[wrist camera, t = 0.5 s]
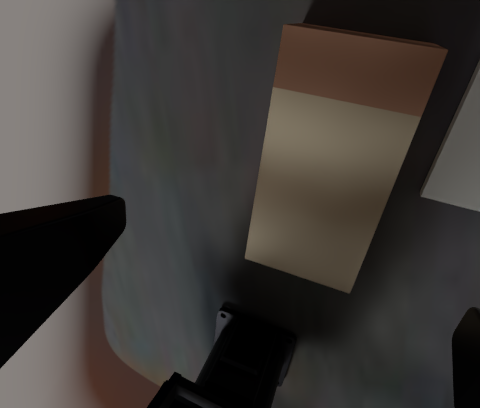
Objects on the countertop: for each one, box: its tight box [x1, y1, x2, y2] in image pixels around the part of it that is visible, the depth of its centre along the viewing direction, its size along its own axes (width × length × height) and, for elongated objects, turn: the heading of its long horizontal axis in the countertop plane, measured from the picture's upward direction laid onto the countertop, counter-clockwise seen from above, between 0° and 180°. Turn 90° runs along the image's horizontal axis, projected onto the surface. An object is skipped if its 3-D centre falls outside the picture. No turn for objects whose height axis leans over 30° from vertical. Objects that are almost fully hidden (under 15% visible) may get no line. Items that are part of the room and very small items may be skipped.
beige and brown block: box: [245, 23, 448, 294], centre depth 17 cm, size 12×6×4 cm, turn 173°
